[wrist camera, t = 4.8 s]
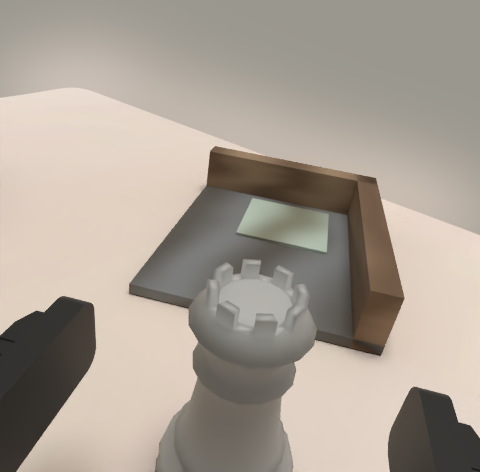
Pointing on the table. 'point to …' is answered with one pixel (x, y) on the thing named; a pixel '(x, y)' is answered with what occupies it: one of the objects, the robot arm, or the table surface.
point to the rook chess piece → (240, 373)
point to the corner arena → (287, 243)
